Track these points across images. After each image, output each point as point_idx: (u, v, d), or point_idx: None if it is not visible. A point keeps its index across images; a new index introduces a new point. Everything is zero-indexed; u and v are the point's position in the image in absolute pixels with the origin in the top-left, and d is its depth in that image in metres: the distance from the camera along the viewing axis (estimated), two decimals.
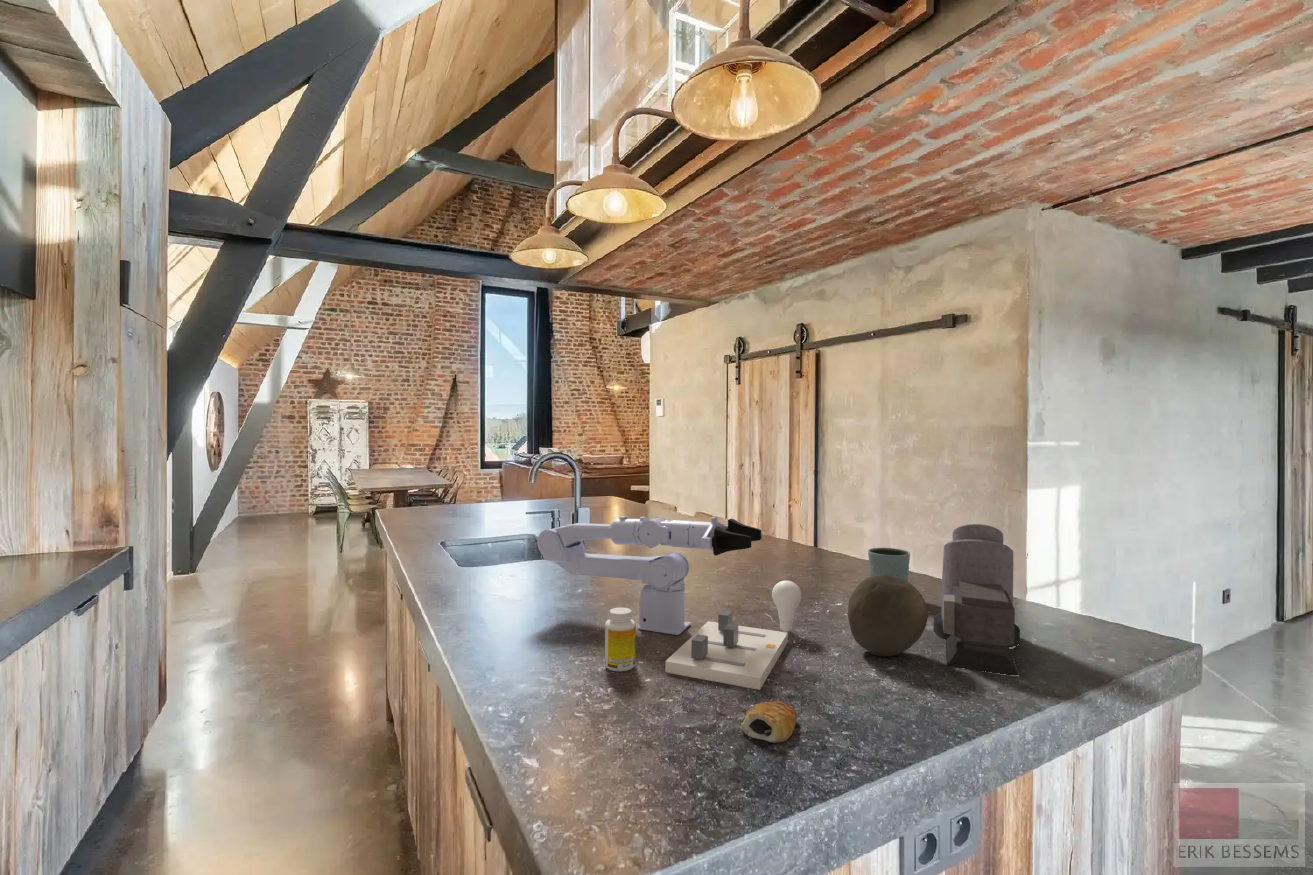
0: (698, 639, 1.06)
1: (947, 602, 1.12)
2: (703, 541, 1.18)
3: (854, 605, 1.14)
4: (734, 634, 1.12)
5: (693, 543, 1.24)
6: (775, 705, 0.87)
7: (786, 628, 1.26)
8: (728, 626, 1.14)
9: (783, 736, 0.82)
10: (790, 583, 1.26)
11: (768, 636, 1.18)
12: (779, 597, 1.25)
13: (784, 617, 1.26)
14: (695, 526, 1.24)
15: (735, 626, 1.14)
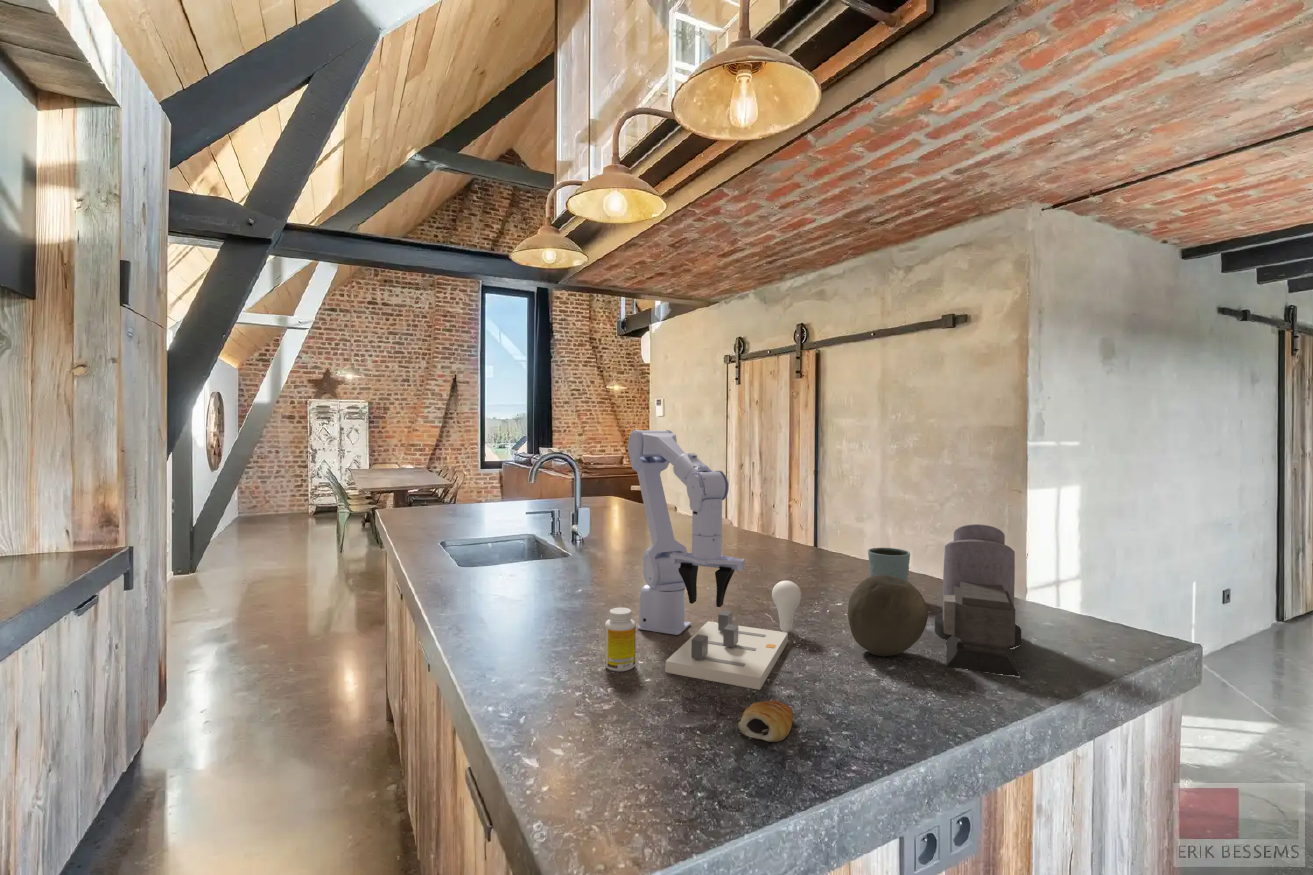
0: (698, 639, 1.06)
1: (947, 602, 1.12)
2: None
3: (854, 605, 1.14)
4: (734, 634, 1.12)
5: None
6: (772, 704, 0.87)
7: (786, 628, 1.26)
8: (728, 626, 1.14)
9: (780, 735, 0.82)
10: (790, 583, 1.26)
11: (768, 636, 1.18)
12: (779, 597, 1.25)
13: (784, 617, 1.26)
14: (694, 541, 1.14)
15: (735, 626, 1.14)
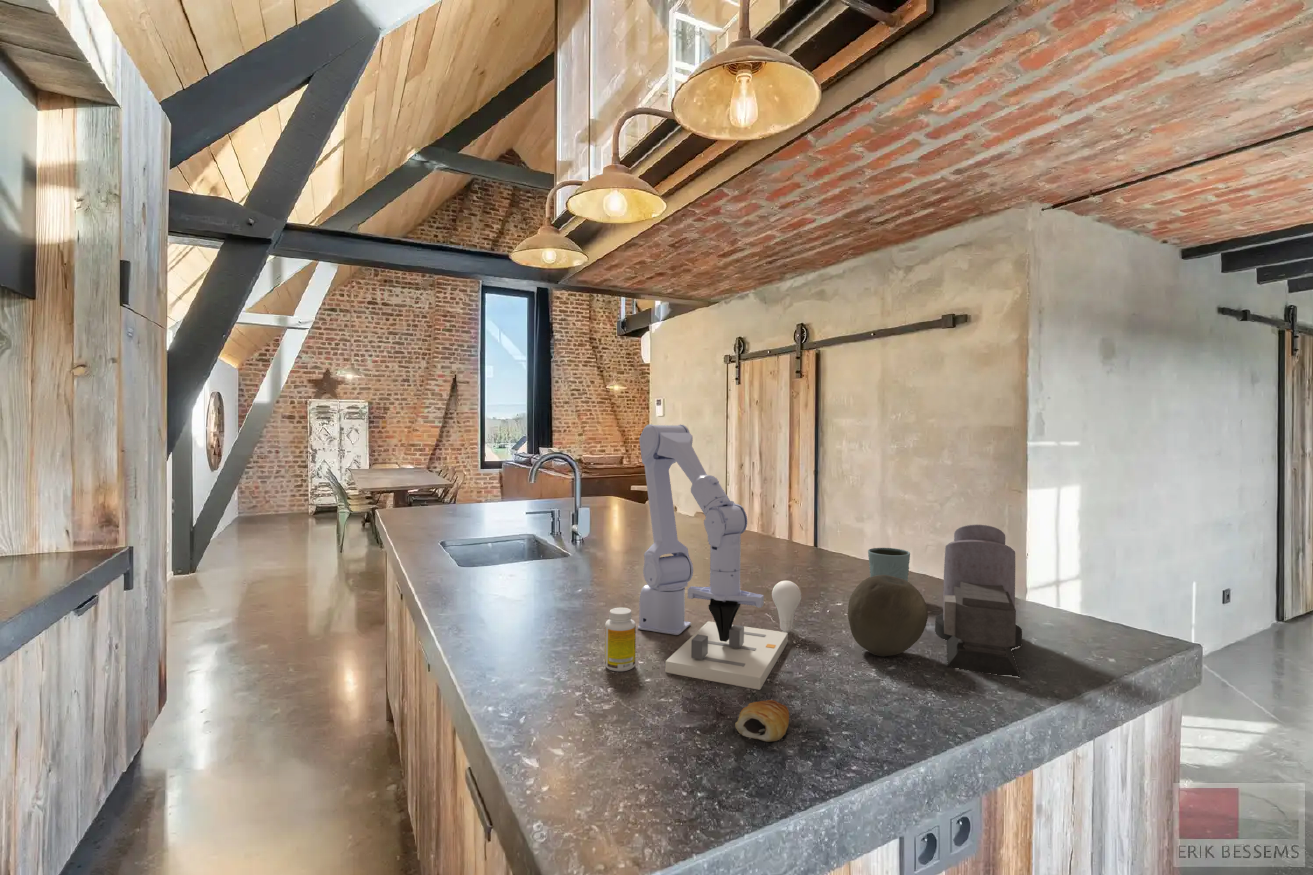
0: (698, 639, 1.06)
1: (948, 603, 1.12)
2: None
3: (854, 605, 1.14)
4: (740, 635, 1.11)
5: None
6: (768, 704, 0.87)
7: (786, 628, 1.26)
8: (734, 627, 1.13)
9: (777, 734, 0.82)
10: (790, 583, 1.26)
11: (768, 636, 1.18)
12: (779, 597, 1.25)
13: (784, 617, 1.26)
14: (712, 576, 1.12)
15: (741, 627, 1.13)
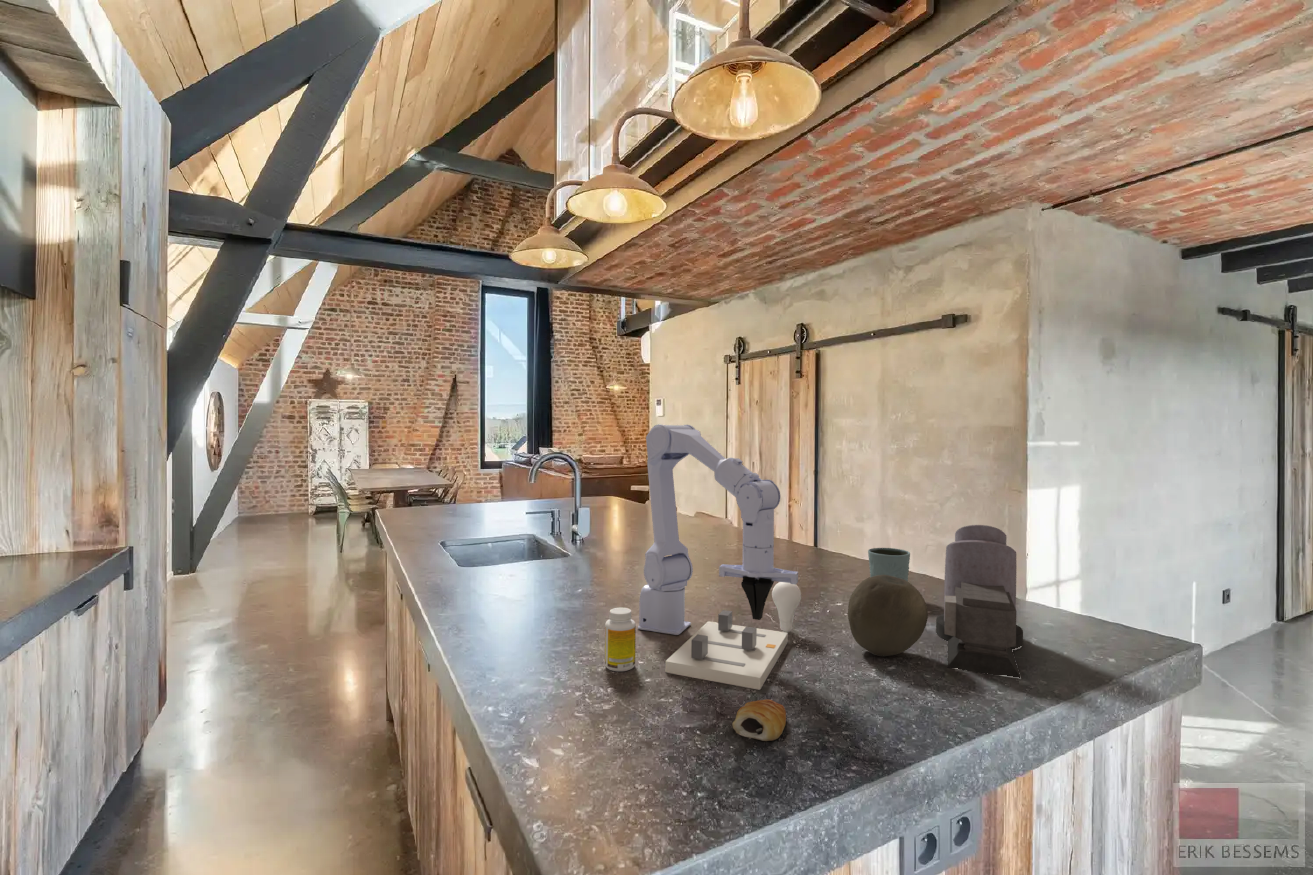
0: (698, 639, 1.06)
1: (948, 603, 1.12)
2: None
3: (854, 605, 1.14)
4: (753, 637, 1.10)
5: None
6: (766, 703, 0.87)
7: (786, 628, 1.26)
8: (746, 629, 1.12)
9: (775, 734, 0.82)
10: None
11: (768, 636, 1.18)
12: (779, 597, 1.25)
13: (784, 617, 1.26)
14: (745, 553, 1.10)
15: (753, 629, 1.12)
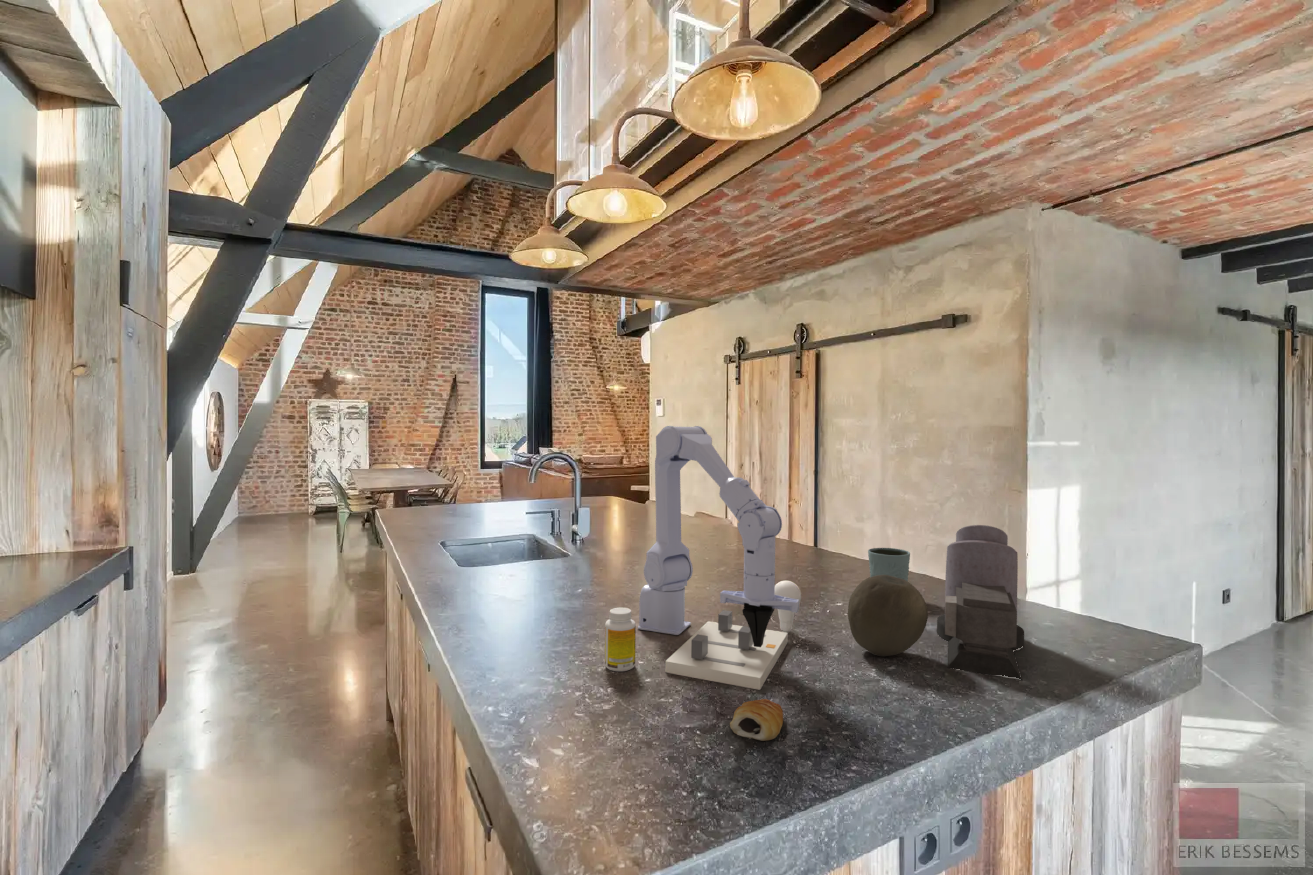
0: (698, 639, 1.06)
1: (948, 603, 1.11)
2: None
3: (854, 605, 1.14)
4: (749, 636, 1.11)
5: None
6: (763, 703, 0.87)
7: (786, 628, 1.26)
8: (743, 628, 1.12)
9: (772, 733, 0.83)
10: (790, 583, 1.26)
11: (768, 636, 1.18)
12: None
13: (784, 617, 1.26)
14: (746, 580, 1.10)
15: None
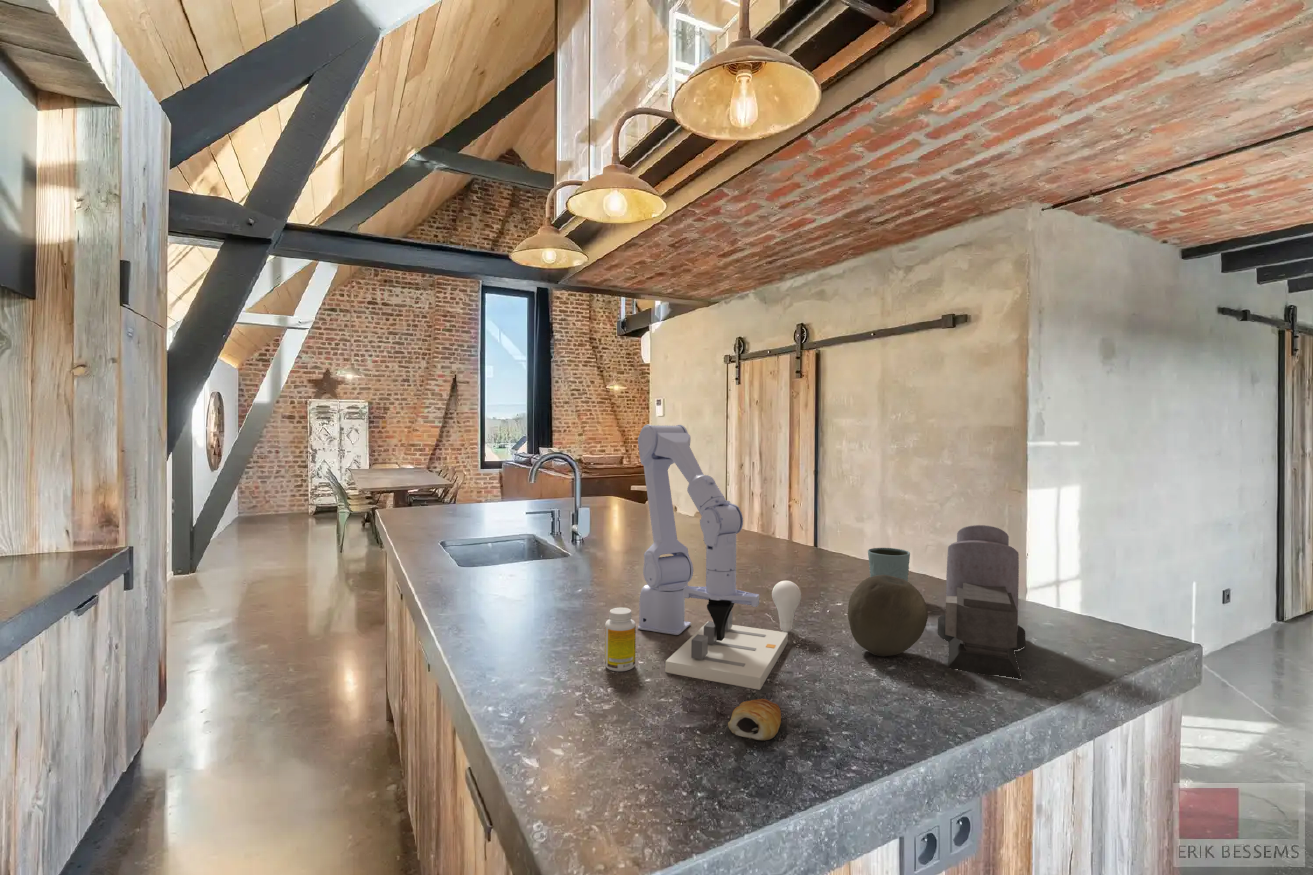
0: (698, 639, 1.06)
1: (949, 604, 1.11)
2: None
3: (854, 605, 1.14)
4: (714, 631, 1.13)
5: None
6: (761, 703, 0.87)
7: (786, 628, 1.26)
8: (708, 623, 1.15)
9: (770, 733, 0.83)
10: (790, 583, 1.26)
11: (768, 636, 1.18)
12: (779, 597, 1.25)
13: (784, 617, 1.26)
14: (708, 576, 1.13)
15: None
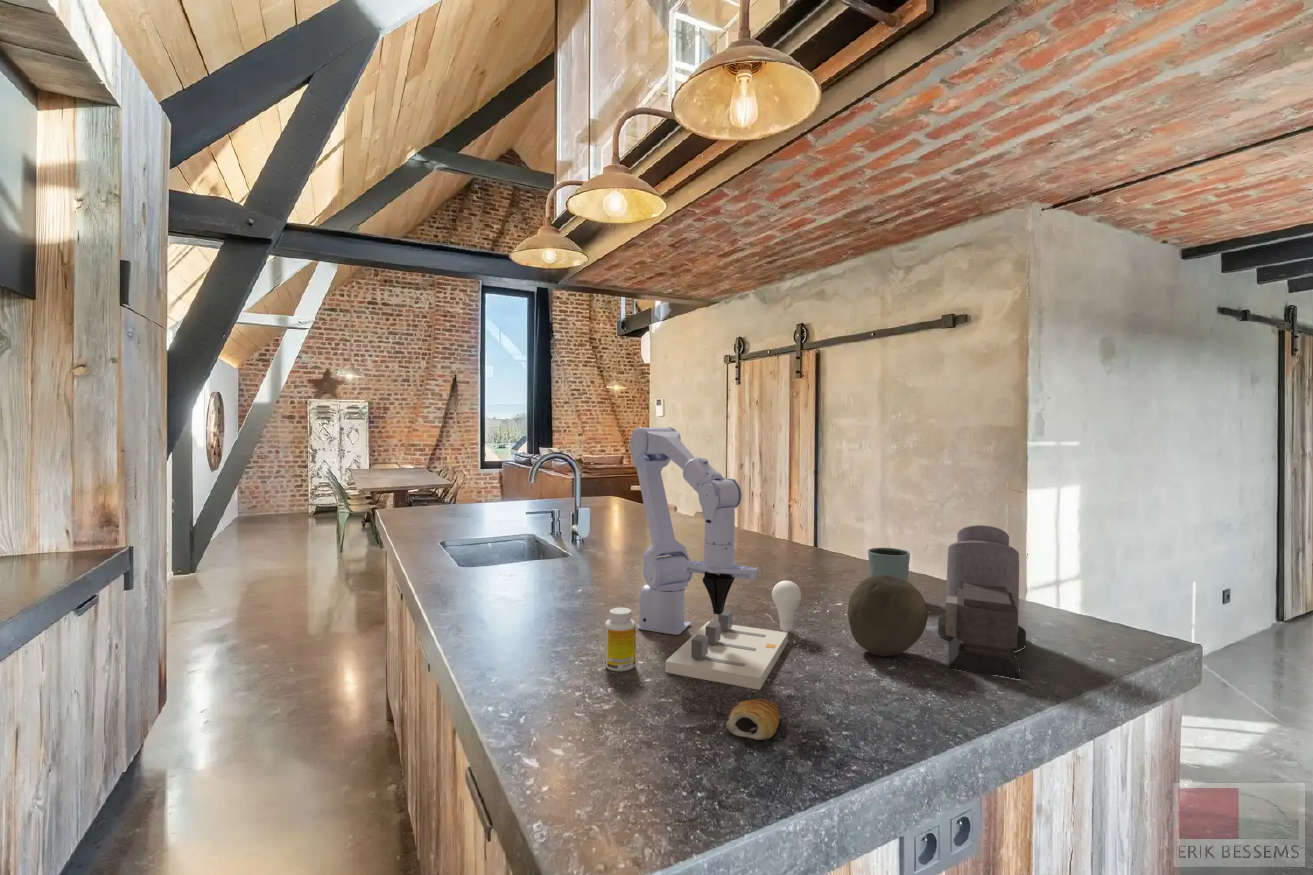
0: (698, 639, 1.06)
1: (949, 604, 1.11)
2: None
3: (854, 605, 1.14)
4: (716, 631, 1.13)
5: None
6: (759, 702, 0.87)
7: (786, 628, 1.26)
8: (710, 623, 1.15)
9: (769, 733, 0.83)
10: (790, 583, 1.26)
11: (768, 636, 1.18)
12: (779, 597, 1.25)
13: (784, 617, 1.26)
14: (706, 549, 1.13)
15: (717, 623, 1.15)
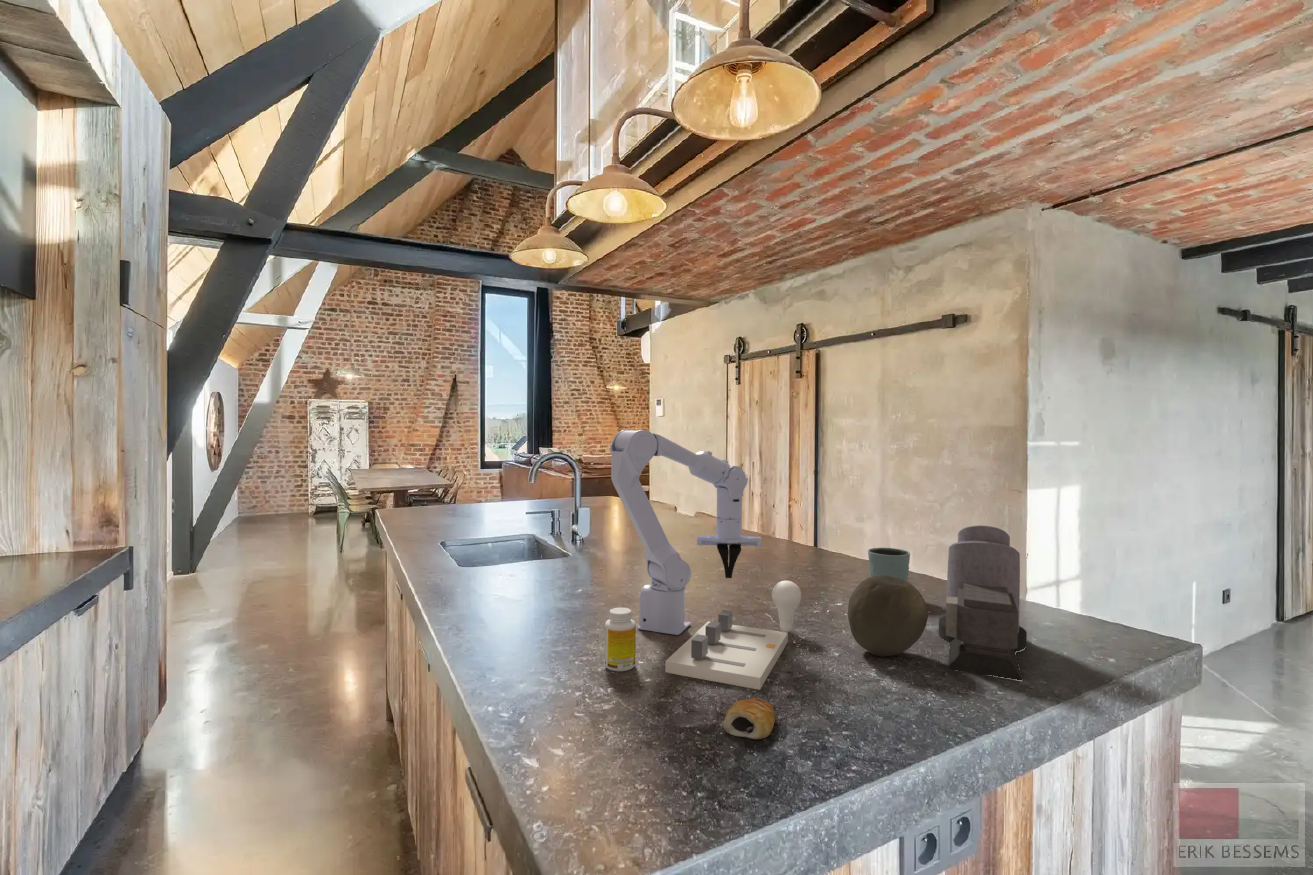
0: (698, 639, 1.06)
1: (949, 604, 1.11)
2: (697, 538, 1.36)
3: (854, 605, 1.14)
4: (716, 631, 1.13)
5: None
6: (755, 702, 0.87)
7: (786, 628, 1.26)
8: (710, 623, 1.15)
9: (765, 732, 0.83)
10: (790, 583, 1.26)
11: (768, 636, 1.18)
12: (779, 597, 1.25)
13: (784, 617, 1.26)
14: (721, 524, 1.34)
15: (717, 623, 1.15)
